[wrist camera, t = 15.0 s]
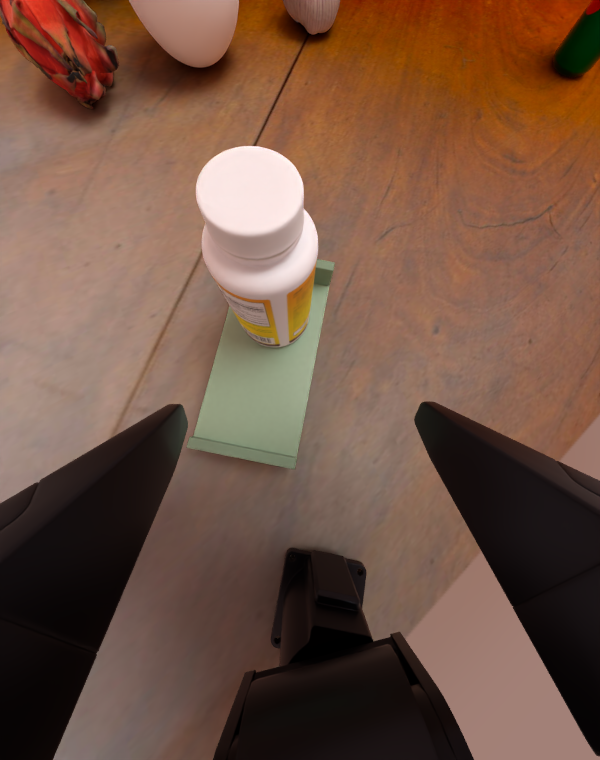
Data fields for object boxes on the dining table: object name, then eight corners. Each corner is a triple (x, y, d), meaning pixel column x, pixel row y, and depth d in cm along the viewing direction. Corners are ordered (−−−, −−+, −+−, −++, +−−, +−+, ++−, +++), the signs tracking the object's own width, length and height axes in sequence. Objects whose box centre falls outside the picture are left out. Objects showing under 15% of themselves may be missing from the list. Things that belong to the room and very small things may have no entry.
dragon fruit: (96, 70, 28) (133, 153, 28) (-10, 15, 22) (35, 119, 22) (87, -44, 22) (134, 63, 22) (-66, -161, 16) (-2, -15, 16)
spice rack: (294, 459, 19) (294, 475, 14) (206, 442, 19) (175, 451, 14) (325, 297, 21) (335, 262, 16) (248, 282, 21) (235, 242, 17)
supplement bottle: (300, 282, 18) (308, 118, 8) (315, 342, 17) (343, 240, 7) (236, 294, 18) (163, 137, 8) (247, 355, 17) (181, 267, 7)
